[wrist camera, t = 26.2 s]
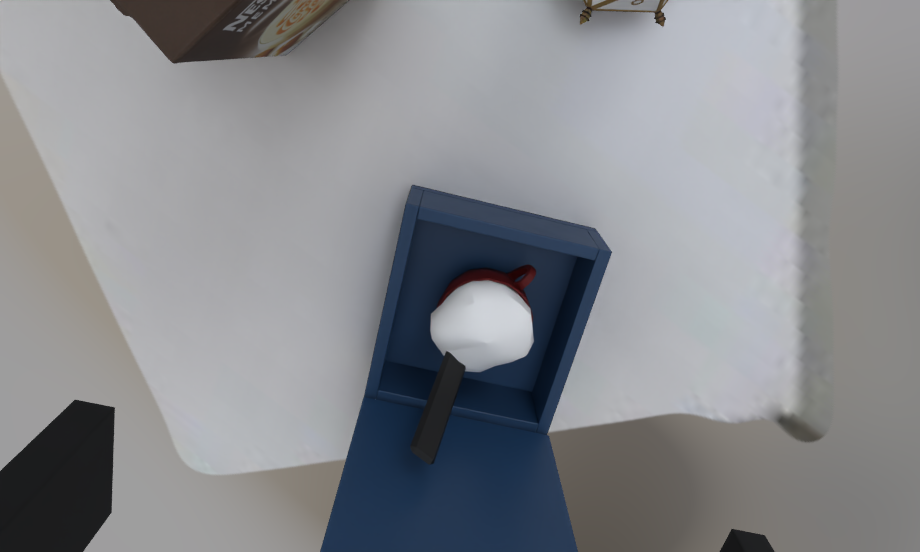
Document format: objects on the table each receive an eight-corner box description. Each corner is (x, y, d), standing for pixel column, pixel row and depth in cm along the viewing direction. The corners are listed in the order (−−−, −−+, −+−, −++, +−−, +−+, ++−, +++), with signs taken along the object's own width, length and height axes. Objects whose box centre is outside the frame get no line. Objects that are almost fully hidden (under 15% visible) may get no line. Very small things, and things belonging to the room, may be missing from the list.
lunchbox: (412, 184, 40) (405, 203, 35) (595, 228, 41) (612, 251, 36) (373, 361, 44) (363, 397, 40) (538, 397, 45) (546, 436, 41)
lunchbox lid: (314, 570, 26) (291, 683, 28) (596, 622, 27) (552, 726, 29) (363, 396, 39) (345, 480, 42) (549, 435, 40) (521, 515, 43)
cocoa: (522, 235, 40) (545, 312, 29) (556, 314, 42) (590, 413, 31) (394, 290, 41) (368, 383, 30) (433, 363, 44) (423, 475, 32)
